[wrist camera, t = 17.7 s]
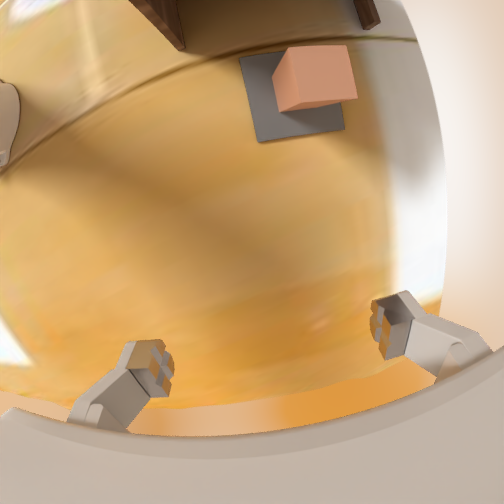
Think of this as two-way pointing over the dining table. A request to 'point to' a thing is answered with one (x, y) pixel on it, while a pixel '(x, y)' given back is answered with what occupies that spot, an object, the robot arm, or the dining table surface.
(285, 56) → the block
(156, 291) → the dining table surface
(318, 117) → the mat
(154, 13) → the cubby
